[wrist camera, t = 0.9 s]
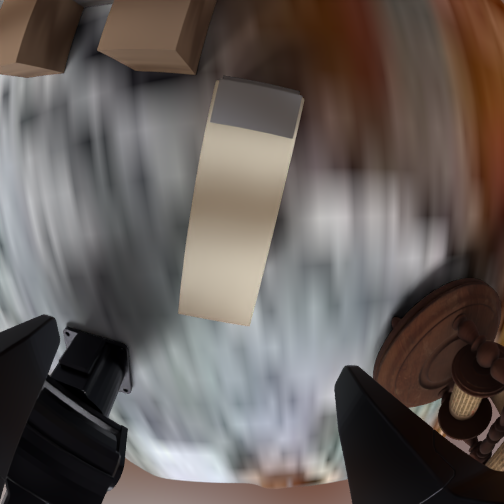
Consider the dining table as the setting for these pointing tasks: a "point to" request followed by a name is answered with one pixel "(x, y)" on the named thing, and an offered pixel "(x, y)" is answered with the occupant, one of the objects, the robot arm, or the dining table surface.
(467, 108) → the dining table surface
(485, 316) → the brown wooden stand
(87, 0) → the square dumbbell
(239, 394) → the dining table surface
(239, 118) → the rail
